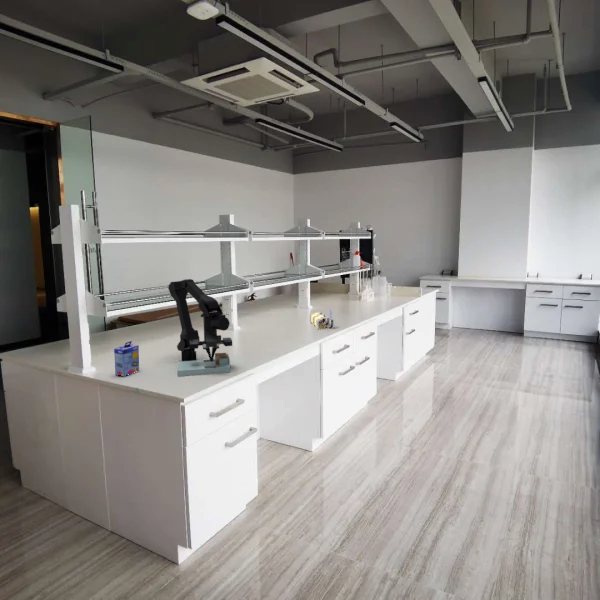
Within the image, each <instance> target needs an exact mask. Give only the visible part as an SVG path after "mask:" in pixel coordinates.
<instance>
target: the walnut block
mask: <svg viewBox="0 0 600 600" xmlns="http://www.w3.org/2000/svg"><path fill="white" fill-rule="evenodd" d="M227 354H228V353H227V352H215V354H214V359H215V363H216V365H219V359H222V358H227Z"/></svg>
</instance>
